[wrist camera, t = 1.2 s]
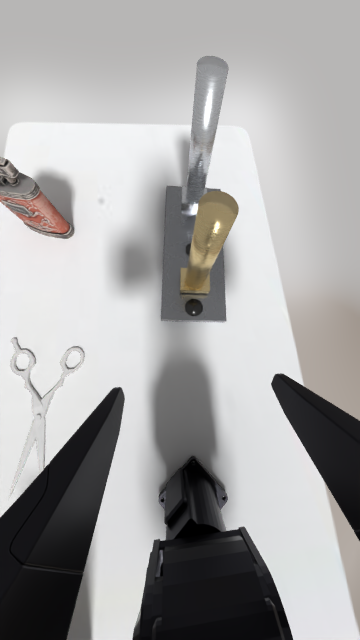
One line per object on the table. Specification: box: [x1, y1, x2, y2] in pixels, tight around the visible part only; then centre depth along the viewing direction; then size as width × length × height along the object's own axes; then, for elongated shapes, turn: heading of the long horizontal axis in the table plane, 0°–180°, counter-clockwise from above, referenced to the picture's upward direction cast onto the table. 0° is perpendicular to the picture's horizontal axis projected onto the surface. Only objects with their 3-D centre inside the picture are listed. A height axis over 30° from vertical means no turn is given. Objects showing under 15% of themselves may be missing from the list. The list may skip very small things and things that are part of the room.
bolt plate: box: [161, 56, 228, 322], centre depth 19 cm, size 25×10×14 cm, turn 179°
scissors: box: [8, 338, 85, 500], centre depth 20 cm, size 11×1×20 cm
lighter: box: [0, 157, 74, 239], centre depth 20 cm, size 8×3×10 cm, turn 75°
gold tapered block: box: [180, 191, 238, 294], centre depth 17 cm, size 4×4×12 cm
